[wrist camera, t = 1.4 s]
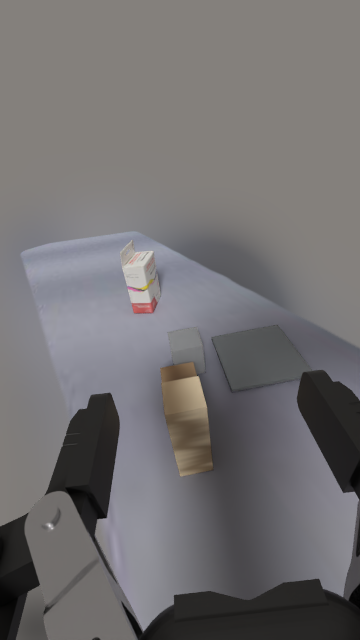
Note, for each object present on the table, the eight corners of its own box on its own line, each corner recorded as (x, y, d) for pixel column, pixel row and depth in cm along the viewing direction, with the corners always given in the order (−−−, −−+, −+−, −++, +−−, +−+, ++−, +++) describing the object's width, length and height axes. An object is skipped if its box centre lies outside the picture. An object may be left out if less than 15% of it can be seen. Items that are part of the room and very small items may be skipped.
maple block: (205, 438, 35) (198, 375, 28) (213, 469, 32) (206, 406, 25) (176, 445, 35) (161, 383, 28) (180, 476, 32) (164, 415, 25)
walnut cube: (196, 384, 43) (193, 361, 40) (202, 410, 39) (199, 387, 36) (165, 390, 43) (160, 368, 40) (168, 416, 39) (163, 394, 36)
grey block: (199, 353, 49) (196, 326, 46) (205, 372, 45) (203, 345, 41) (172, 358, 49) (167, 332, 45) (176, 378, 45) (171, 351, 41)
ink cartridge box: (154, 313, 61) (140, 252, 53) (133, 313, 62) (117, 253, 54) (162, 294, 68) (151, 237, 60) (143, 294, 69) (130, 238, 61)
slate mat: (277, 327, 52) (277, 324, 52) (314, 376, 41) (314, 373, 41) (211, 339, 51) (211, 337, 51) (231, 392, 41) (231, 389, 40)
